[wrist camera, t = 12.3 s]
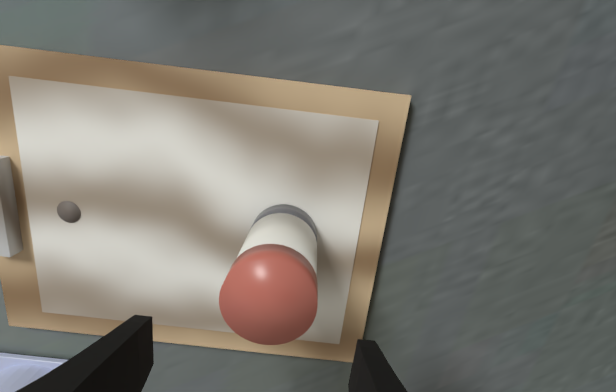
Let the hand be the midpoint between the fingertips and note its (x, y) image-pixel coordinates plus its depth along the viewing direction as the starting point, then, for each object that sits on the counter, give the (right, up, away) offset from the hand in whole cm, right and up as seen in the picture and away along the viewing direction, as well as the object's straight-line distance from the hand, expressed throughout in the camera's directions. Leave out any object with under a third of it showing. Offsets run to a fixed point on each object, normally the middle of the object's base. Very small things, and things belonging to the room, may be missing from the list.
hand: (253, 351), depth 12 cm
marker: (0, +3, +9) cm, 9 cm away
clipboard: (-6, +4, +10) cm, 12 cm away
